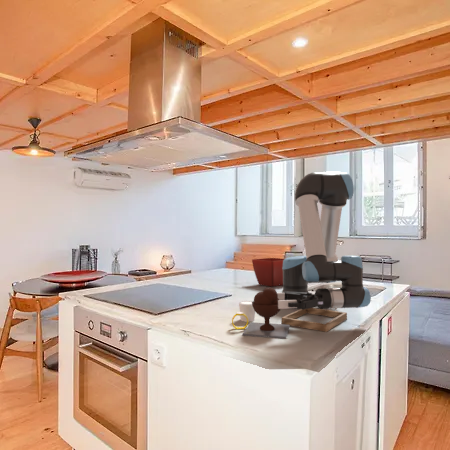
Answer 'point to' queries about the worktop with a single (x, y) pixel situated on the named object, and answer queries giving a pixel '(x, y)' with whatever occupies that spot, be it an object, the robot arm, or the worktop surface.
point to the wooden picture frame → (292, 321)
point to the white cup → (247, 311)
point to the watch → (240, 315)
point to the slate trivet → (278, 332)
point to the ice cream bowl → (266, 306)
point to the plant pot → (269, 271)
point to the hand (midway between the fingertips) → (272, 300)
